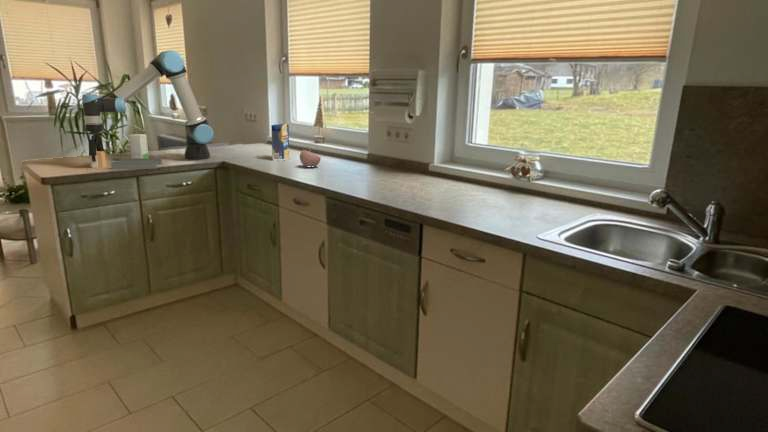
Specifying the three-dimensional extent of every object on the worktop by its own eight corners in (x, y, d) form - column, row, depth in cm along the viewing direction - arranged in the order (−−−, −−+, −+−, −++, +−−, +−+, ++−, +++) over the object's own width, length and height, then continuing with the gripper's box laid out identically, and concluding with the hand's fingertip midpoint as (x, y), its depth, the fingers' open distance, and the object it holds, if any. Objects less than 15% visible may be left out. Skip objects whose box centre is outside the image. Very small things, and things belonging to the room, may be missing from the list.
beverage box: (289, 159, 309) (288, 124, 303) (282, 161, 299) (281, 125, 293) (279, 158, 310) (278, 123, 304) (272, 160, 300) (271, 125, 294)
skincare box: (142, 162, 278) (139, 135, 274) (131, 161, 278) (128, 134, 274) (149, 160, 286) (146, 133, 282) (138, 159, 286) (135, 133, 282)
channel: (162, 164, 274) (161, 158, 274) (156, 168, 260) (155, 162, 259) (119, 164, 269) (119, 158, 269) (111, 168, 255) (110, 162, 254)
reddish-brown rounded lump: (324, 168, 280) (324, 148, 277) (307, 169, 273) (306, 149, 270) (313, 165, 289) (313, 146, 286) (296, 166, 281) (295, 147, 278)
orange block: (106, 165, 264) (104, 151, 262) (102, 167, 258) (101, 152, 256) (94, 165, 262) (92, 151, 260) (90, 167, 257) (88, 152, 255)
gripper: (92, 122, 263) (97, 162, 269) (78, 125, 243) (83, 169, 249) (107, 122, 265) (111, 162, 271) (94, 125, 245) (99, 169, 251)
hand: (98, 166), depth 260 cm, fingers open, 9 cm apart
